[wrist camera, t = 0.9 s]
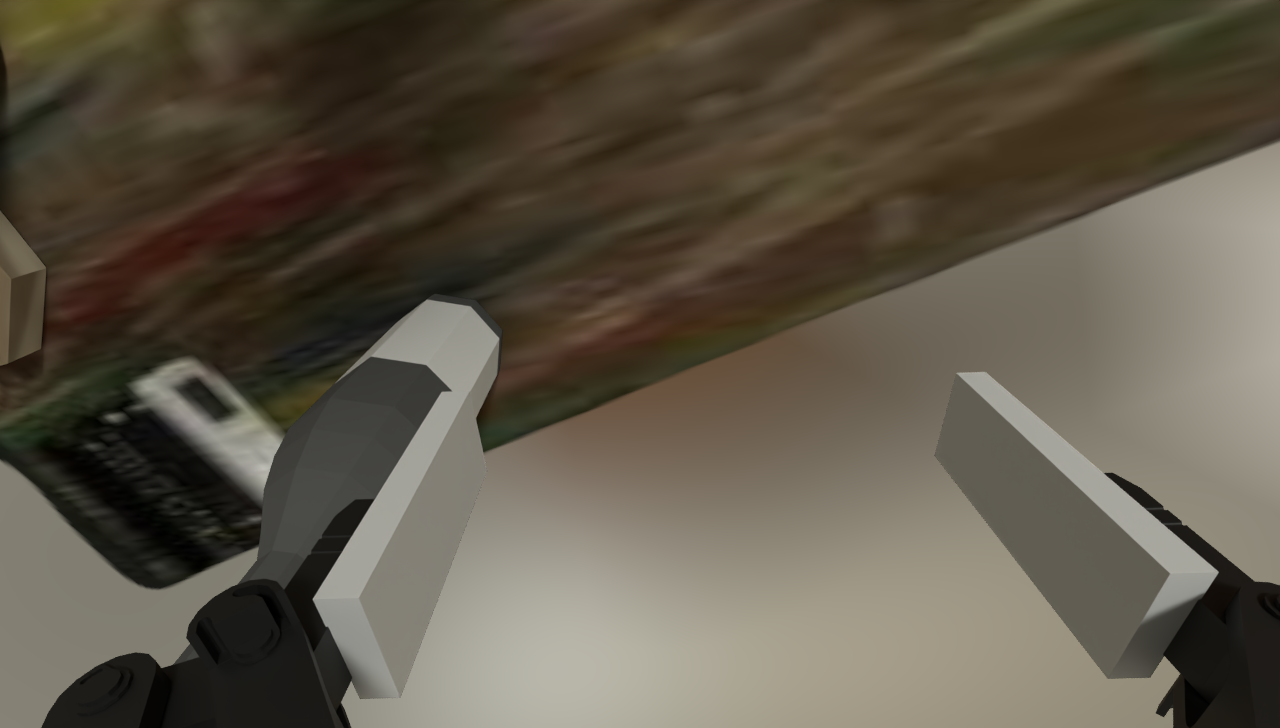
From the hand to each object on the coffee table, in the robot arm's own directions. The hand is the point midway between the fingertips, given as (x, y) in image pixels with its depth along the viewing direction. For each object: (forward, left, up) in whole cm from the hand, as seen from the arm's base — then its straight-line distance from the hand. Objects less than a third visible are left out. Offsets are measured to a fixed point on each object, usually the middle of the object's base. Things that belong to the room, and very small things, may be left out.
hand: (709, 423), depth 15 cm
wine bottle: (+5, -18, -26) cm, 32 cm away
